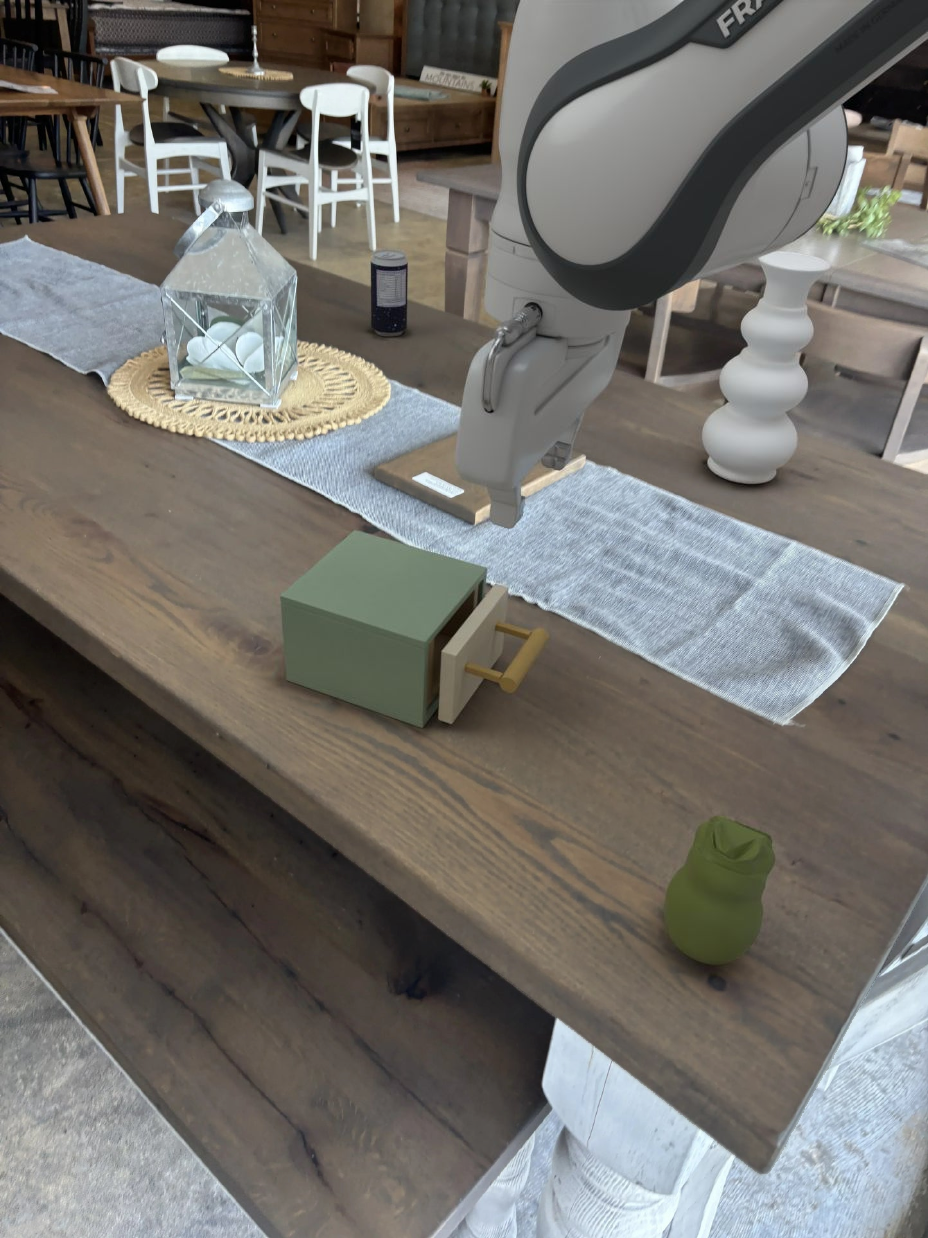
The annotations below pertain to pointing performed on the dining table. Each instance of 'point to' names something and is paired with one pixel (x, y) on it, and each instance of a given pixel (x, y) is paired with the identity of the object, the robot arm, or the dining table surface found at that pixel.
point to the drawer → (477, 652)
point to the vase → (765, 376)
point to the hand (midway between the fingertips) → (531, 492)
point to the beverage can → (389, 292)
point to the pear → (719, 892)
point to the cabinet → (374, 622)
